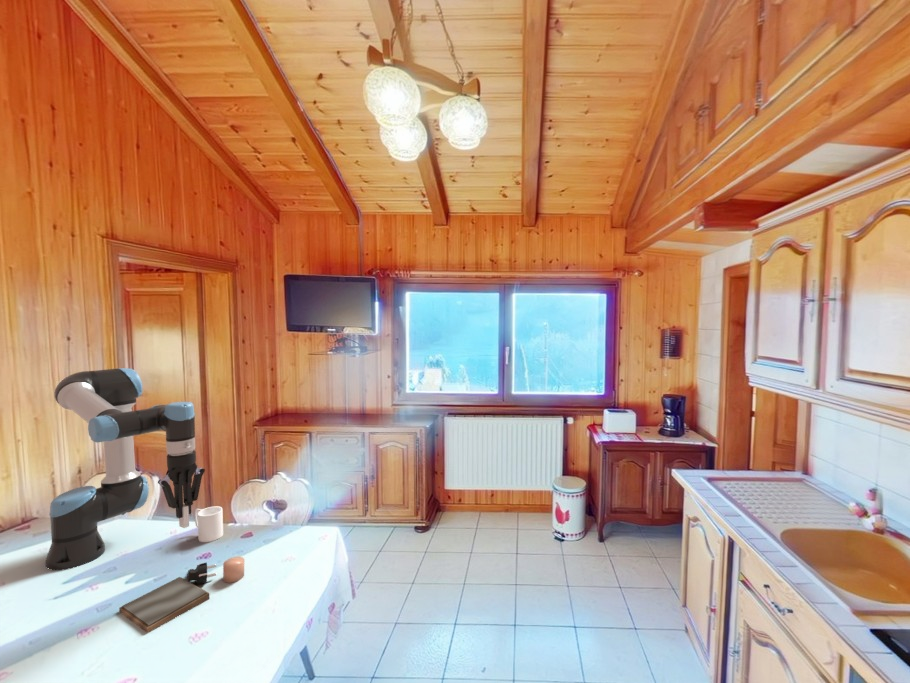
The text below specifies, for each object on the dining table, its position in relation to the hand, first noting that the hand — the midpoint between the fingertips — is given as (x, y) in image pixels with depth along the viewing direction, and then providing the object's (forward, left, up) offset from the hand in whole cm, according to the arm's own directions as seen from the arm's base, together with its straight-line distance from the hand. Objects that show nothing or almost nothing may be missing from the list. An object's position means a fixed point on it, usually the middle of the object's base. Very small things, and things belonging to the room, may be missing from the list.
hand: (184, 526), depth 128 cm
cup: (-24, +20, -19) cm, 36 cm away
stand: (+6, -9, -19) cm, 21 cm away
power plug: (-4, +7, -18) cm, 20 cm away
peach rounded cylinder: (+10, +9, -19) cm, 23 cm away
